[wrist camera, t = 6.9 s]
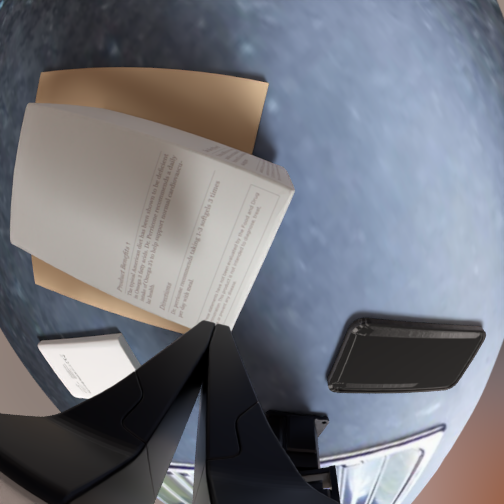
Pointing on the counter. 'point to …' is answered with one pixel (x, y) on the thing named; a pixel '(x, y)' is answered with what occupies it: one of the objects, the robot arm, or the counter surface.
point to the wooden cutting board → (161, 111)
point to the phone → (403, 356)
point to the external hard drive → (90, 362)
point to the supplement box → (145, 210)
